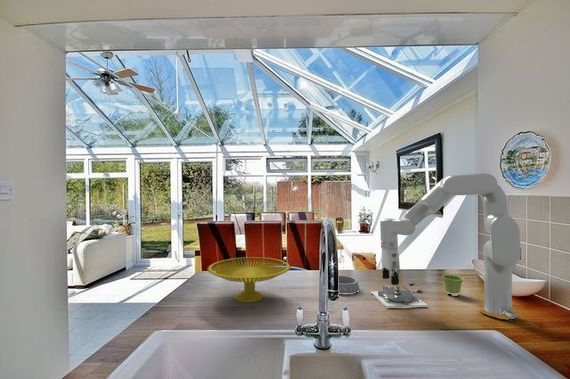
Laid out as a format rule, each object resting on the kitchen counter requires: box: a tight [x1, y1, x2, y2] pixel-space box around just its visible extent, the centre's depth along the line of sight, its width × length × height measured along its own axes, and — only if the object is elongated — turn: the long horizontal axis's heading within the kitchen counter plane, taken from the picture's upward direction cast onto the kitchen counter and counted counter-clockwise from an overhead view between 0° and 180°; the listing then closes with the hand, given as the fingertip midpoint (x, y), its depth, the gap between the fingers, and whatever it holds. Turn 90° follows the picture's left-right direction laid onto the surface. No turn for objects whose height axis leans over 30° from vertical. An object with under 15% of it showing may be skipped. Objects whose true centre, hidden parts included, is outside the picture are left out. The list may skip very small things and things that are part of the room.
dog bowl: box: [338, 274, 360, 293], centre depth 159 cm, size 17×18×5 cm
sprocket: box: [377, 284, 419, 304], centre depth 143 cm, size 18×17×6 cm
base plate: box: [370, 290, 428, 308], centre depth 143 cm, size 19×19×1 cm
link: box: [382, 284, 396, 296], centre depth 141 cm, size 4×4×4 cm
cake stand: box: [207, 256, 292, 303], centre depth 147 cm, size 40×40×15 cm
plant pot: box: [441, 274, 464, 293], centre depth 151 cm, size 9×9×9 cm
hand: (390, 281), depth 141 cm, fingers open, 9 cm apart
